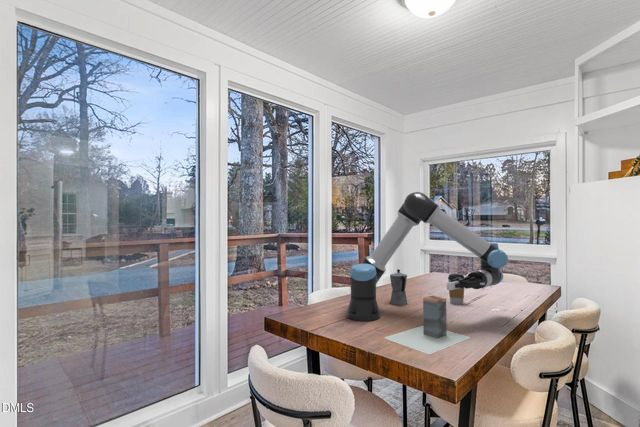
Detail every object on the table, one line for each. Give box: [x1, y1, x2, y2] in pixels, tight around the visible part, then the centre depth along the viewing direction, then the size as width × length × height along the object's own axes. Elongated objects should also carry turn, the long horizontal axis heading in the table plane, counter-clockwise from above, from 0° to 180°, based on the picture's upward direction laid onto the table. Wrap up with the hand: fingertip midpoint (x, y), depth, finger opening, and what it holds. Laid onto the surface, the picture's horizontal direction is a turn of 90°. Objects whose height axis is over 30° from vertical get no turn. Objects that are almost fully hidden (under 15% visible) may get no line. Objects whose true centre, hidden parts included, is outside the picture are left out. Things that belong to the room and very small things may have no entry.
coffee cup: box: [447, 273, 465, 306], centre depth 180 cm, size 8×8×15 cm
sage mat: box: [383, 325, 472, 355], centre depth 127 cm, size 26×20×1 cm
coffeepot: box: [389, 269, 408, 306], centre depth 181 cm, size 15×9×18 cm, turn 6°
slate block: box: [422, 295, 448, 339], centre depth 131 cm, size 6×6×14 cm
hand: (448, 286), depth 136 cm, fingers closed
